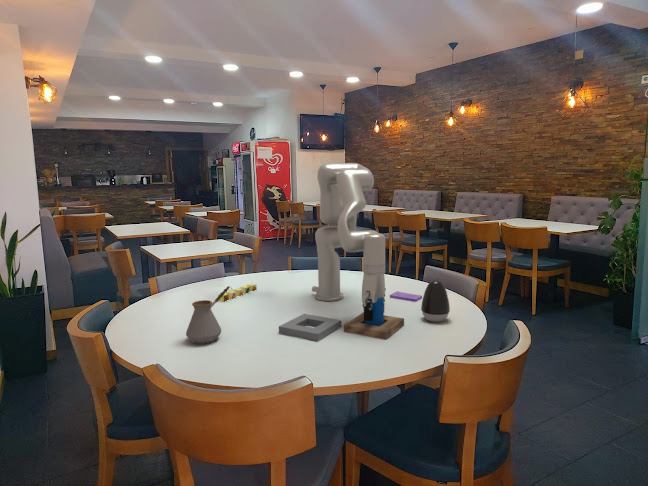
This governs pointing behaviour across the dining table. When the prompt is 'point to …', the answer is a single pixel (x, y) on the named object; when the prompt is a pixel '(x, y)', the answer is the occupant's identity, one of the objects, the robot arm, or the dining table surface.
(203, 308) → the coffee pot
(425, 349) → the dining table surface
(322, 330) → the socket
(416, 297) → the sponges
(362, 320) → the socket
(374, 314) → the beverage can
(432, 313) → the black rounded egg shape
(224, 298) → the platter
